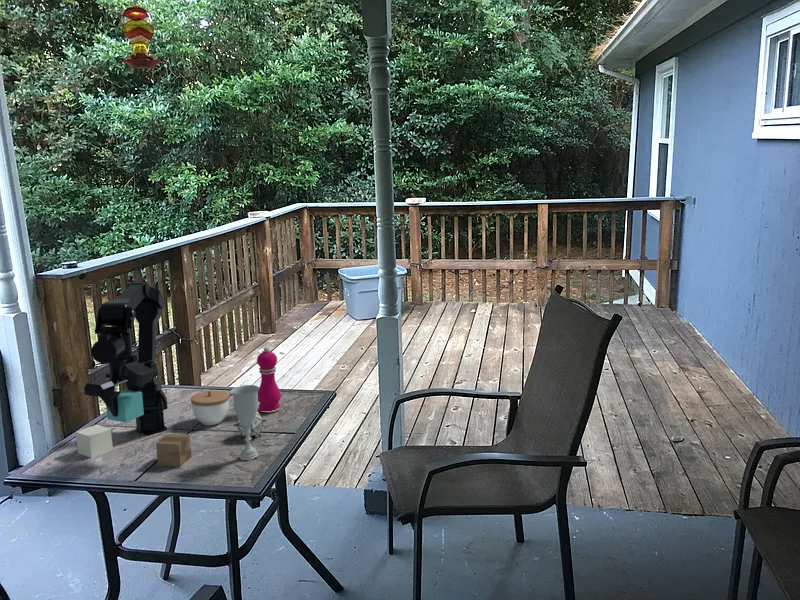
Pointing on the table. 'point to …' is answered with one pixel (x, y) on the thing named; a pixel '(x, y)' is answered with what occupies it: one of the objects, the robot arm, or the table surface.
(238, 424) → the game die
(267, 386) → the pepper mill
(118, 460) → the table surface
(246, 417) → the chalice
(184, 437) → the walnut block
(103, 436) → the cream block
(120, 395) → the teal block
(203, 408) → the lidded jar
